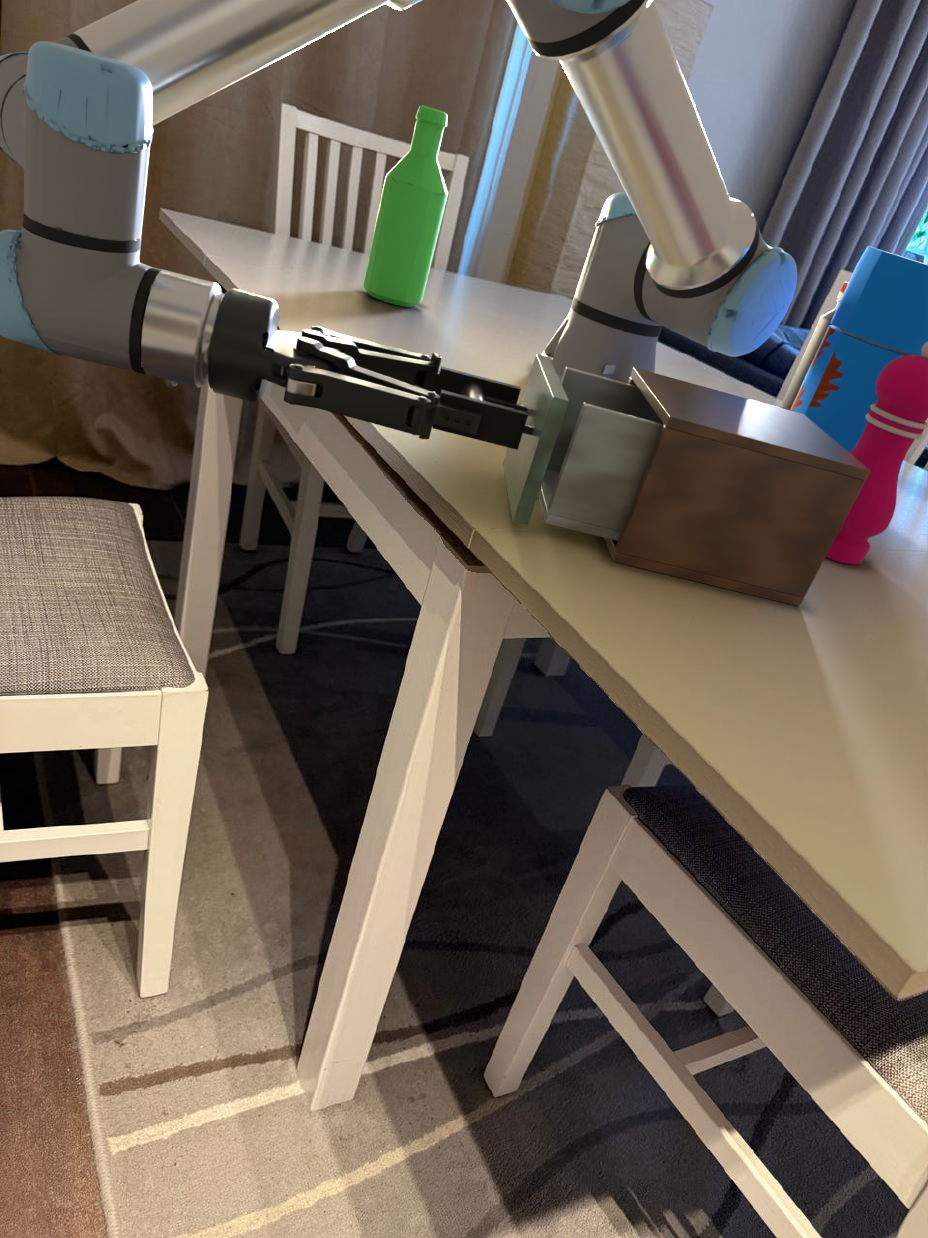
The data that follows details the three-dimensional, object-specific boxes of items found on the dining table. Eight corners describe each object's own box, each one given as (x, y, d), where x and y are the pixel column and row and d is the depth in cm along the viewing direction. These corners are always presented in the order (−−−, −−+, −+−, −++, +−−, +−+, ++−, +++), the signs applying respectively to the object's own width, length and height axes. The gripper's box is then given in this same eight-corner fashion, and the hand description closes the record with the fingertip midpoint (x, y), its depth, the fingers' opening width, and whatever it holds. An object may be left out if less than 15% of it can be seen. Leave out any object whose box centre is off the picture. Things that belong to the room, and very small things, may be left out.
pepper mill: (783, 524, 87) (882, 319, 78) (851, 542, 88) (957, 342, 79) (805, 555, 81) (916, 337, 72) (878, 575, 82) (998, 361, 72)
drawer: (440, 505, 66) (476, 376, 61) (440, 449, 76) (470, 335, 72) (692, 566, 69) (745, 447, 64) (658, 504, 79) (701, 398, 75)
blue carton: (851, 496, 104) (966, 276, 92) (857, 524, 94) (985, 283, 83) (761, 463, 105) (861, 243, 94) (758, 488, 96) (869, 246, 84)
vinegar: (765, 418, 129) (828, 276, 120) (788, 418, 134) (851, 281, 124) (805, 437, 125) (874, 292, 116) (827, 436, 130) (895, 297, 120)
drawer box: (613, 561, 68) (670, 416, 62) (587, 493, 79) (633, 366, 74) (800, 606, 70) (871, 470, 65) (747, 534, 82) (804, 414, 76)
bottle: (412, 312, 126) (458, 116, 114) (354, 293, 127) (394, 95, 115) (426, 304, 134) (471, 119, 122) (371, 286, 134) (411, 101, 123)
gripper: (234, 357, 75) (498, 424, 79) (178, 428, 59) (513, 509, 62) (247, 265, 72) (522, 340, 75) (191, 314, 55) (546, 407, 59)
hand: (518, 416), depth 69 cm, fingers closed on drawer, 6 cm apart
